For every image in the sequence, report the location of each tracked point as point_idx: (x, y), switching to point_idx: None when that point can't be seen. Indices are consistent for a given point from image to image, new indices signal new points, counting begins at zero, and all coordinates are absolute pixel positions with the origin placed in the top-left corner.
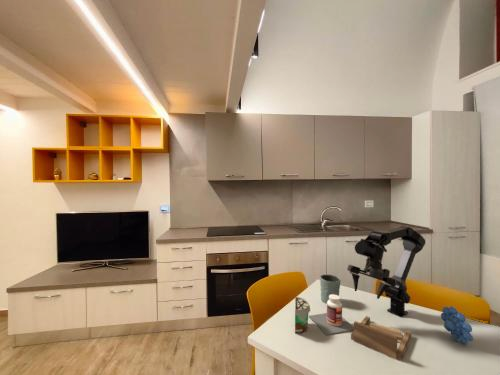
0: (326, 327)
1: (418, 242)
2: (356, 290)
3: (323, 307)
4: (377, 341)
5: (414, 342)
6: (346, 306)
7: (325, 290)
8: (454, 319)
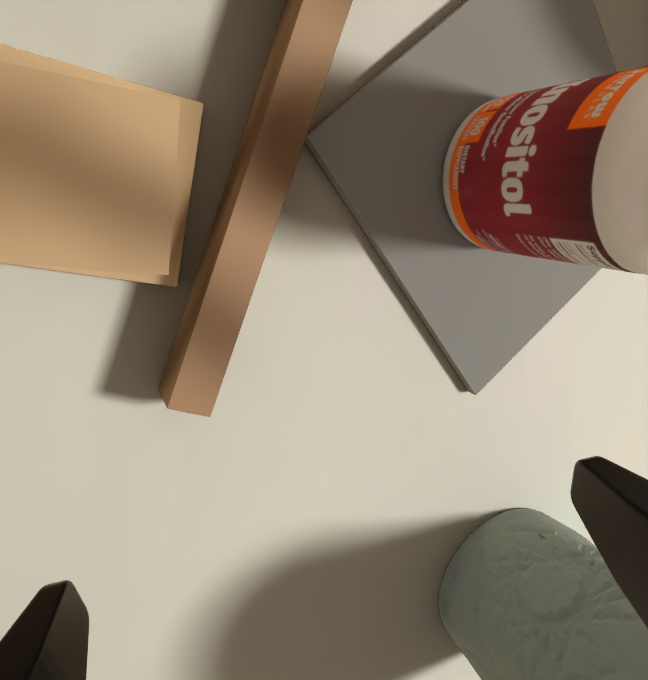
0: (559, 51)
1: None
2: (593, 467)
3: (548, 429)
4: None
5: None
6: (376, 568)
7: None
8: None
